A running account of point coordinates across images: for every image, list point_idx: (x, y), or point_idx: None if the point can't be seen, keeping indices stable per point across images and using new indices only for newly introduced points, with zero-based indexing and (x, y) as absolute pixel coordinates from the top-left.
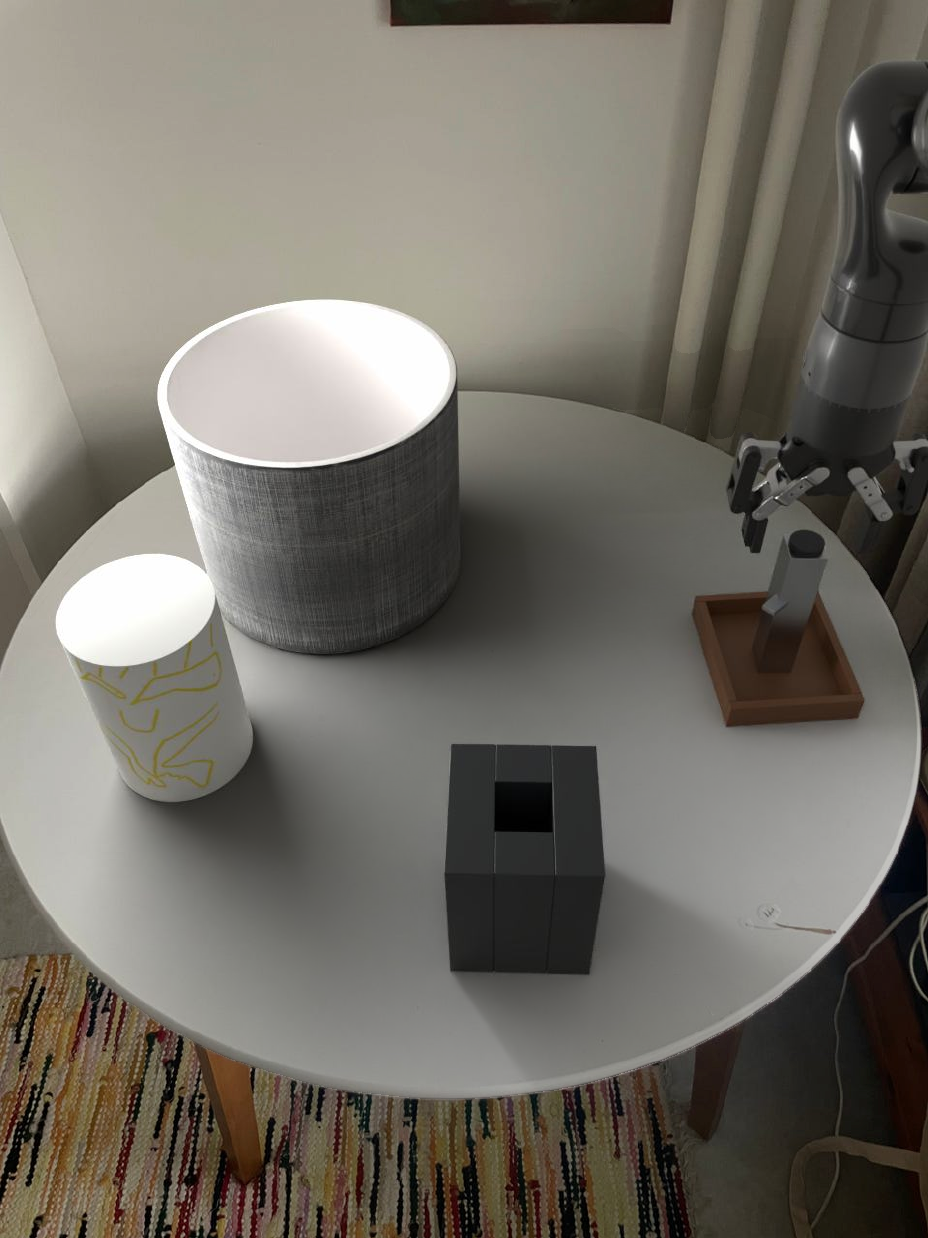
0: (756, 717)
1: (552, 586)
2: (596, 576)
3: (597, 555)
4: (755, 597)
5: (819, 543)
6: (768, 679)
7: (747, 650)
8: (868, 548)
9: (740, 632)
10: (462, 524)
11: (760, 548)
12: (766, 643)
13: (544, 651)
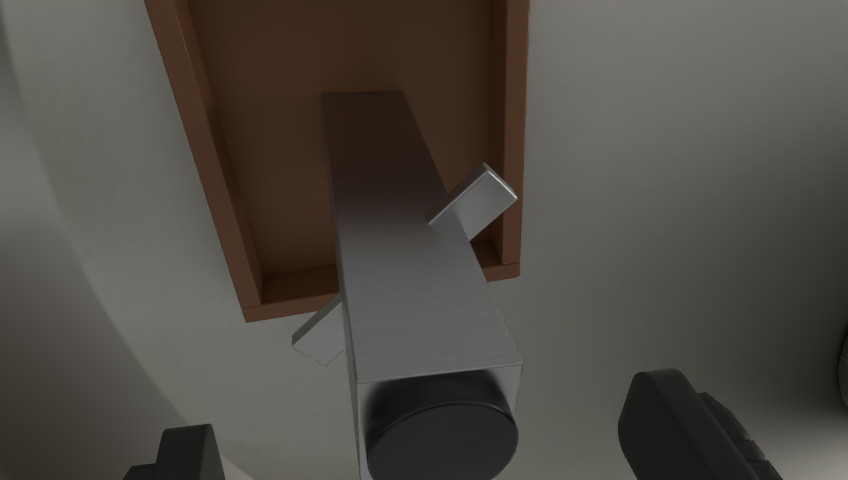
0: None
1: (730, 280)
2: (648, 309)
3: (631, 351)
4: None
5: (397, 450)
6: (380, 69)
7: None
8: (164, 462)
9: None
10: (811, 379)
11: (663, 392)
12: (419, 133)
13: (809, 131)
